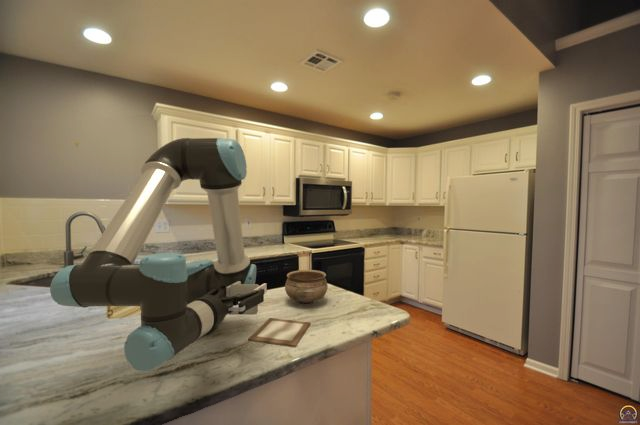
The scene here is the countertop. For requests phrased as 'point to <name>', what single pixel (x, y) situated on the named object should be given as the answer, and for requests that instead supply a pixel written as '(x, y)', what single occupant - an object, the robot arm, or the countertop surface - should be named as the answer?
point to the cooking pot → (306, 286)
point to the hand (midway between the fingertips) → (252, 286)
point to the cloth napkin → (280, 332)
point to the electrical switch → (241, 290)
